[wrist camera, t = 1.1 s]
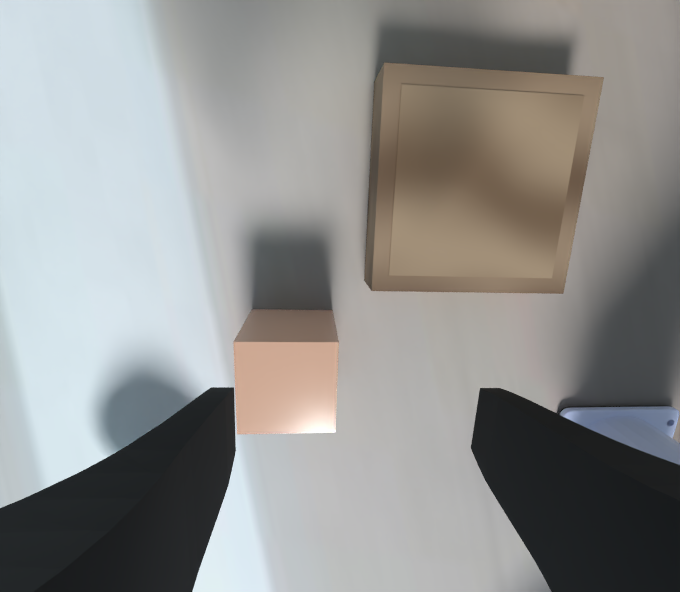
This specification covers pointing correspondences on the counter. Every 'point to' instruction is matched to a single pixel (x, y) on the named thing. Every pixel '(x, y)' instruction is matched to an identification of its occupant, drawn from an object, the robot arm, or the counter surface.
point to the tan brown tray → (476, 178)
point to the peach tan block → (286, 372)
